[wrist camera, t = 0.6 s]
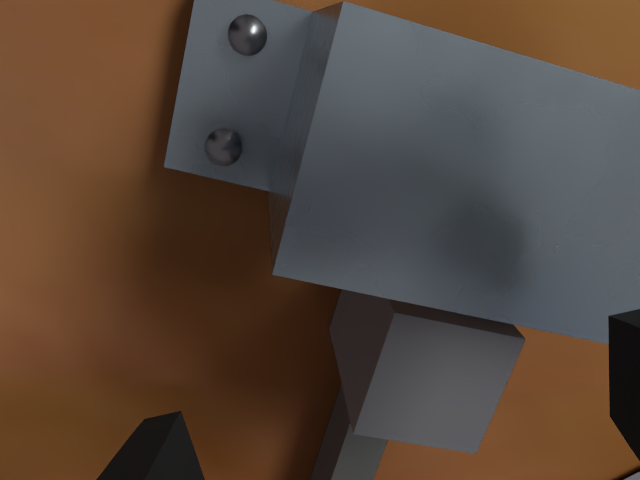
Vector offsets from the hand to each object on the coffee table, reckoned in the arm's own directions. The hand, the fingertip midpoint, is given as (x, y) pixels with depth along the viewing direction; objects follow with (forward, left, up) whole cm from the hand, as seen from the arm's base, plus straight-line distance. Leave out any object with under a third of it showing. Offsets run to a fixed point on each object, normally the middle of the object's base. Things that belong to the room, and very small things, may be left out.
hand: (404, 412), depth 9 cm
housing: (+1, -4, -9) cm, 10 cm away
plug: (-8, +4, -9) cm, 13 cm away
